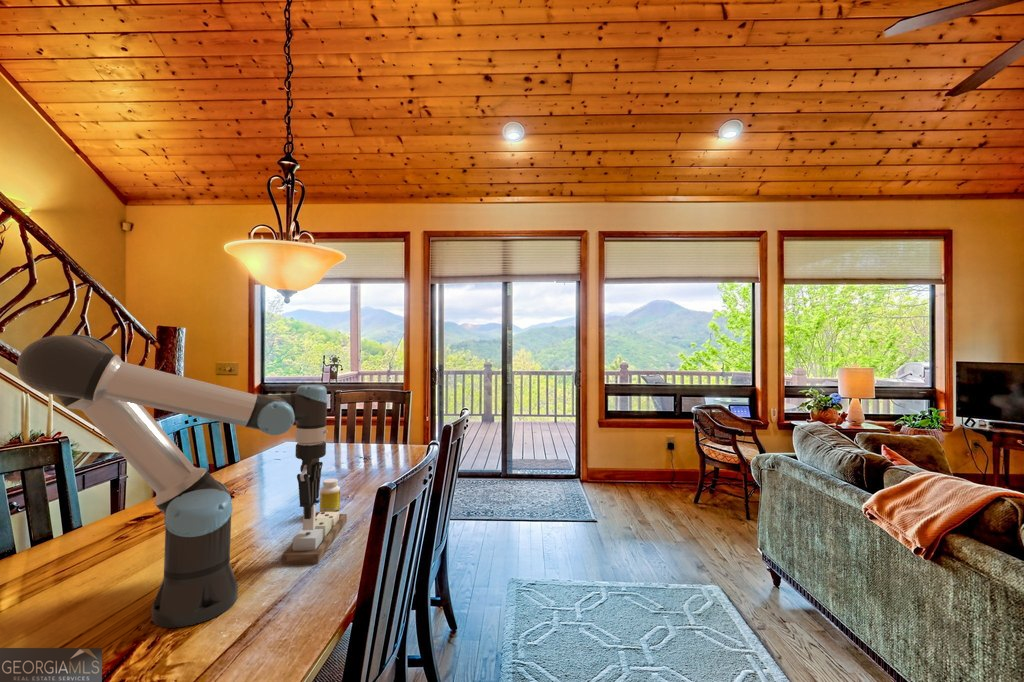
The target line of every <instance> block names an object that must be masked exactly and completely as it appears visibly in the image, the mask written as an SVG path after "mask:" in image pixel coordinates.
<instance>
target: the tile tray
mask: <svg viewBox="0 0 1024 682" xmlns="http://www.w3.org/2000/svg"><path fill="white" fill-rule="evenodd" d="M347 517H348V515H347V513H339V520H338V521H337V523H336V524H335V525H331V530H330V531H329V532H328V534H327V535H326V537H323V541H322V542H321V543H320V545H319V546H318V547H317V549H316V550H302V551H293V542H292V543H291V544H290V545H289V546H288V547H287V549H286V550H285V551H284V552H283V553H282V554H281V565H311V564H312V565H317V564H318V565H319V563H320V561H321V560H322V559H323V557H324V556H325V555H326V553H327V551H328V550H329V548H330V547H331V546H332V544H333V543H334V540H336V538H337V537H338V535H339V534H340V532H341V530H343V528H344V527H345V525H346V524H347V519H348V518H347Z"/></svg>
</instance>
